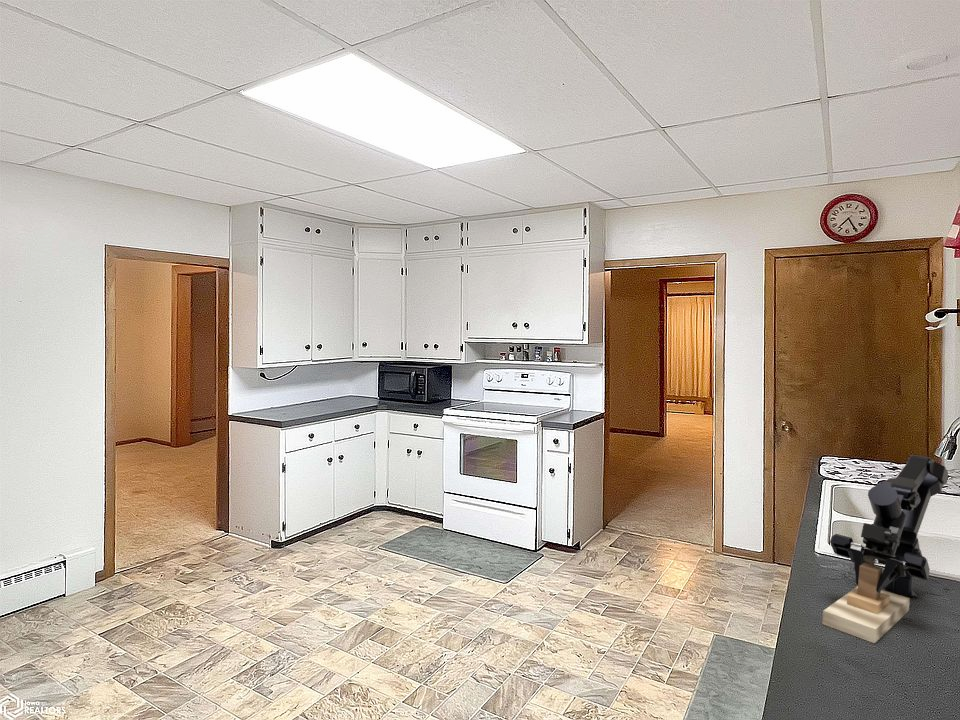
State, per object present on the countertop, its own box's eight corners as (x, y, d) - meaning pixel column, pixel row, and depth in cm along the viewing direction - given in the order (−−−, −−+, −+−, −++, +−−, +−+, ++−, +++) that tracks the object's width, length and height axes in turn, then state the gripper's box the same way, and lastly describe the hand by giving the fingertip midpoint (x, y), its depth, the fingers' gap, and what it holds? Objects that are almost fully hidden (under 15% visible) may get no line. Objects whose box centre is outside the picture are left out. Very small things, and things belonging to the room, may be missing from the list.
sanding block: (859, 594, 142) (862, 558, 141) (889, 604, 137) (892, 567, 137) (846, 603, 136) (849, 566, 136) (877, 614, 132) (880, 575, 131)
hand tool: (870, 577, 161) (872, 559, 161) (853, 572, 164) (854, 555, 163) (884, 558, 175) (885, 543, 175) (867, 554, 178) (869, 539, 177)
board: (860, 595, 148) (861, 583, 148) (908, 610, 141) (909, 598, 141) (822, 624, 133) (823, 610, 133) (874, 643, 125) (875, 629, 125)
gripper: (835, 500, 145) (814, 556, 139) (930, 521, 131) (911, 584, 124) (845, 525, 151) (825, 580, 144) (937, 548, 137) (919, 610, 130)
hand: (867, 588), depth 136 cm, fingers closed on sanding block, 4 cm apart
